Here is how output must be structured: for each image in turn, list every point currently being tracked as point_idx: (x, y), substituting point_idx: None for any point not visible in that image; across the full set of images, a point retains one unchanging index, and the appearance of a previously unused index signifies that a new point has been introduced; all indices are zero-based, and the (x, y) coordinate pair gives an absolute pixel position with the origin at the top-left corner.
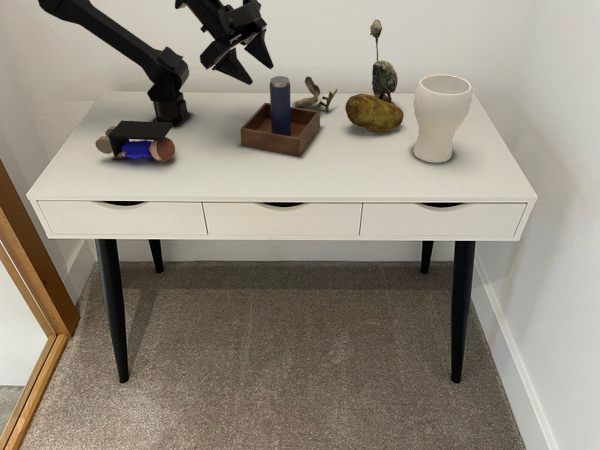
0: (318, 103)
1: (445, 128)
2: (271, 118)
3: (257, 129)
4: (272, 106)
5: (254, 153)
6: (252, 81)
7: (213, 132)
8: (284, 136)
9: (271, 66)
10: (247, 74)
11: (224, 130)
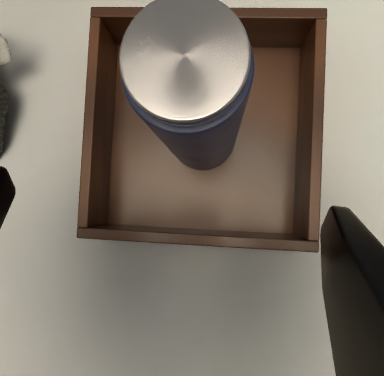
0: (8, 49)
1: None
2: (224, 153)
3: (194, 226)
4: (235, 132)
5: (332, 184)
6: (340, 207)
7: (244, 370)
8: (323, 68)
9: (2, 180)
10: (369, 253)
11: (220, 338)
